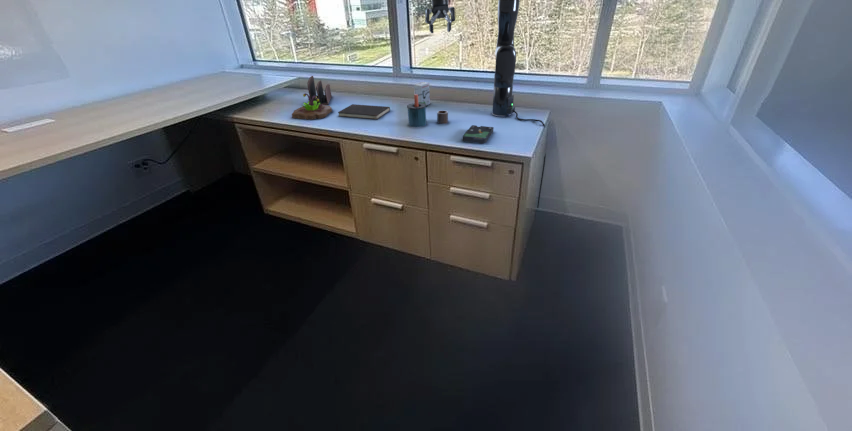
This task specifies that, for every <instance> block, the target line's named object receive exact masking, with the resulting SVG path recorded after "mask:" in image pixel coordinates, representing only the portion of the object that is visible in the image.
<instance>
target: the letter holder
mask: <svg viewBox="0 0 852 431" xmlns="http://www.w3.org/2000/svg"><path fill="white" fill-rule="evenodd" d="M307 91H308V95H309V96H310V99H311V100H312V97H313V96H316V97H317V98H318V99H319V101H317V99H314V100H313V101H317V104H318V103H320V105H325V106H329V104H330V101H331V100H332V96H333V95H332V91H331V86H330V83H327V84H326V85H325V89H324V88H323V82H322V80H321V79H319V81H318V82H317V84H316V83H315V77H314V75H310V77H309V79H308V81H307ZM317 104H316V105H317Z"/></svg>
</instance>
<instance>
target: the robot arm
mask: <svg viewBox="0 0 852 431" xmlns="http://www.w3.org/2000/svg"><path fill="white" fill-rule="evenodd" d="M520 1H521V0H498V1H497V2H498V3H497V27H498V28H497V39H496V46H495V51H494V57H495V69H494V75H493V96H492V109H491V110H492V111H491V112H492V113H491V114H492V116H494V117H498V118H508V117H510V116H511V115H513V114H514V113H515V114H516V115H515V118H516V120H517V121H529V122H530V121H533V122H540V123H541V125H542V126H543V127H546V124H545V123H544V122H543V120H541V119H535V118H519V117H518V112H517V111H516V106H514V98H515V97H514V96H515V95H514V94H513V90H514V79H515V72H516V64H517V63H516V62H517V51H516V48H515V28H516V24H517V20H518V14H519V10H520ZM455 8H456V7H454V6H451V7H449V0H431V8H425V12H424V13H425V15H424V18H425V19H424V22H425V24H428V25H429V26H428V27H429V28H428V29H429V33H430V34H434V32H435V31H434V23H435V21H436V20H437V19H445V20H446V22H447V23H446V31H447V33H451V31H452V23H453V22H455V21H456V9H455ZM431 13H432V16H431V17H430V15H431ZM448 13H450V16H449V14H448ZM546 157H547V152H545V153H544V157H543V164H542V171H541V178H540V185H539V192H538V197H537V204H536V205H537V206H536V208H537V209H539V207H540V199H541V193H542V192H541V191H542V185H543V181H544V180H543V179H544V173H545V167H546V166H545V165H546Z"/></svg>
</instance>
